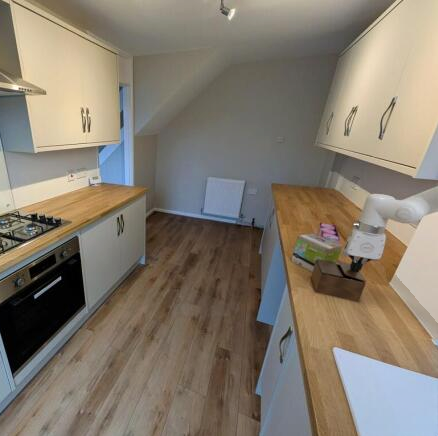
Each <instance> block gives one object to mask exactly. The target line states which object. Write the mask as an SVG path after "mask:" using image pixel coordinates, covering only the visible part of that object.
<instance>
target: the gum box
mask: <svg viewBox="0 0 438 436" xmlns="http://www.w3.org/2000/svg"><path fill="white" fill-rule="evenodd" d="M316 235H317V236H320V237H322V238H325V239H327V240H329V241H332V242H334V243H337V244H339V245H340V243H341V237H340V235H339V231H338V228H337V225H336V224H332V225H331V224H327V223H323V222H319V225H318V227H317V231H316Z"/></svg>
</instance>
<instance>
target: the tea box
mask: <svg viewBox="0 0 438 436" xmlns="http://www.w3.org/2000/svg"><path fill="white" fill-rule="evenodd" d="M342 250H343V245H341V244H340V243H339V244H337V243H334V242H332V241H329V240H327V239H325V238H322V237H320V236H317V234H315V233H312V232H311V233H305V234H300V235H297V238H296V240H295V245H294V248H293V252H292V257H291V261H292V262H293V263H295V264H297V265H299V266H300V267H302V268H304V269H306V270H308V271H309V272H311V273H312V272H313V269H314V265H315V262H316V260H317V259H321V260H326V261H331V262H336V264H338V261H337V260H339V258H340V256H341V252H342Z"/></svg>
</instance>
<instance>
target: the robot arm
mask: <svg viewBox="0 0 438 436" xmlns="http://www.w3.org/2000/svg"><path fill="white" fill-rule="evenodd" d="M437 212H438V185H437V186H433V187H431V188H429V189H427V190H424V191H421V192H419V193H416V194H414V195H411V196H409V197H406V198H404V199H396V198H395V197H394V196H391V195H388V194H383V193H371V194H368V195H367V196H366V198H365V201H364V203H363V207H362V209H361V212H360V215H359V219H358V220H357V221H356V222H352V227H354V228H353V229H352V230H351V232H350V233H349V235H348V237H347V239H346V241H345V243H344V246H343V247H344V249H343V250H342V251H341V252H342V255H343V256H345V257H348V258H349V259H351V261H350V262H351V263H350V264H351V265H350V268H351V269H352V271H353V272H357V273H359V271H362V268H363V266H364V265H365V264H366V263H368V262H371V261H372V262H376V261H379V260H380V259H381V258H382V255H383V253H384V249H385V244H386V239H387V234H386V233H385V230H386V228H387V225H388V222H389V220H391V221H394V222H396V223H401V224H406V225H407V224H414V223H417V222H419V221H420V220H422V219H423V218H424V217H427V216H428V215H431V214H435V213H437Z"/></svg>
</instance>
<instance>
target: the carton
mask: <svg viewBox="0 0 438 436" xmlns="http://www.w3.org/2000/svg"><path fill="white" fill-rule="evenodd" d="M310 278H311V281H312V284H313V288H314V290H315V293H318V294H322V295H327V296H330V297H334V298H340V299H343V300H347V301H352V302H356V303H359V302H360V299H361V296H362V294H363V291H364V289H365V286H366V283H367V281H366V282H365V281H362V280H359V279H357V278H354V277H351V276H348V275H345V274H344V272H343V270H342V268H341V267H340V265H339V263H337V264H336V262H331V261H326V260H321V259H317V260H316V262H315V265H314V269H313V272H311V276H310Z"/></svg>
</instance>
